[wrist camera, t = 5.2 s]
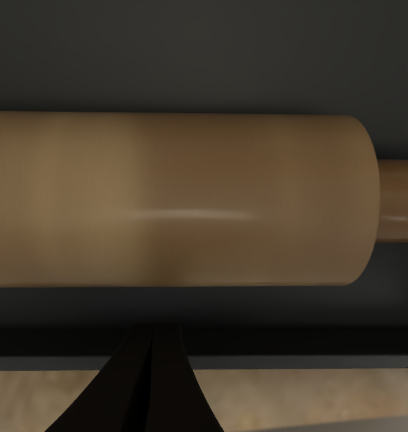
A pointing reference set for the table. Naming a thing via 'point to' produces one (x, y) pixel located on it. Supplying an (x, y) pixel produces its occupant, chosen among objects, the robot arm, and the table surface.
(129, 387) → the robot arm
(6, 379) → the table surface
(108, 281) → the rolling pin
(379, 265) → the pastry tray
